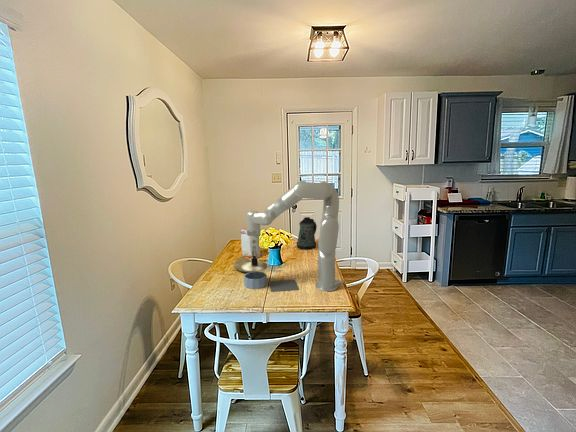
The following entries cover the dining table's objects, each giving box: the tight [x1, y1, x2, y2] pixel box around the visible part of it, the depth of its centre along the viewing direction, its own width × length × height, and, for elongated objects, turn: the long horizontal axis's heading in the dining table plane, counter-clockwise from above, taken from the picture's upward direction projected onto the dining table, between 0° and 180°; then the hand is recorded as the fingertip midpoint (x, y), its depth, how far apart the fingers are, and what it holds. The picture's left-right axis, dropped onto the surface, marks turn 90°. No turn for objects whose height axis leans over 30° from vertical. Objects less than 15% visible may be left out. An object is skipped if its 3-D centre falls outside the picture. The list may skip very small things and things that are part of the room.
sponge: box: [233, 256, 251, 273], centre depth 211 cm, size 13×8×20 cm
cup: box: [243, 271, 268, 290], centre depth 183 cm, size 13×13×6 cm
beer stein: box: [296, 216, 318, 251], centre depth 261 cm, size 16×19×25 cm
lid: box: [241, 257, 268, 273], centre depth 181 cm, size 15×15×6 cm
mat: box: [268, 279, 300, 293], centre depth 181 cm, size 16×16×1 cm
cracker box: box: [240, 228, 261, 259], centre depth 237 cm, size 14×6×21 cm, turn 58°
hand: (254, 263), depth 181 cm, fingers closed on lid, 3 cm apart
